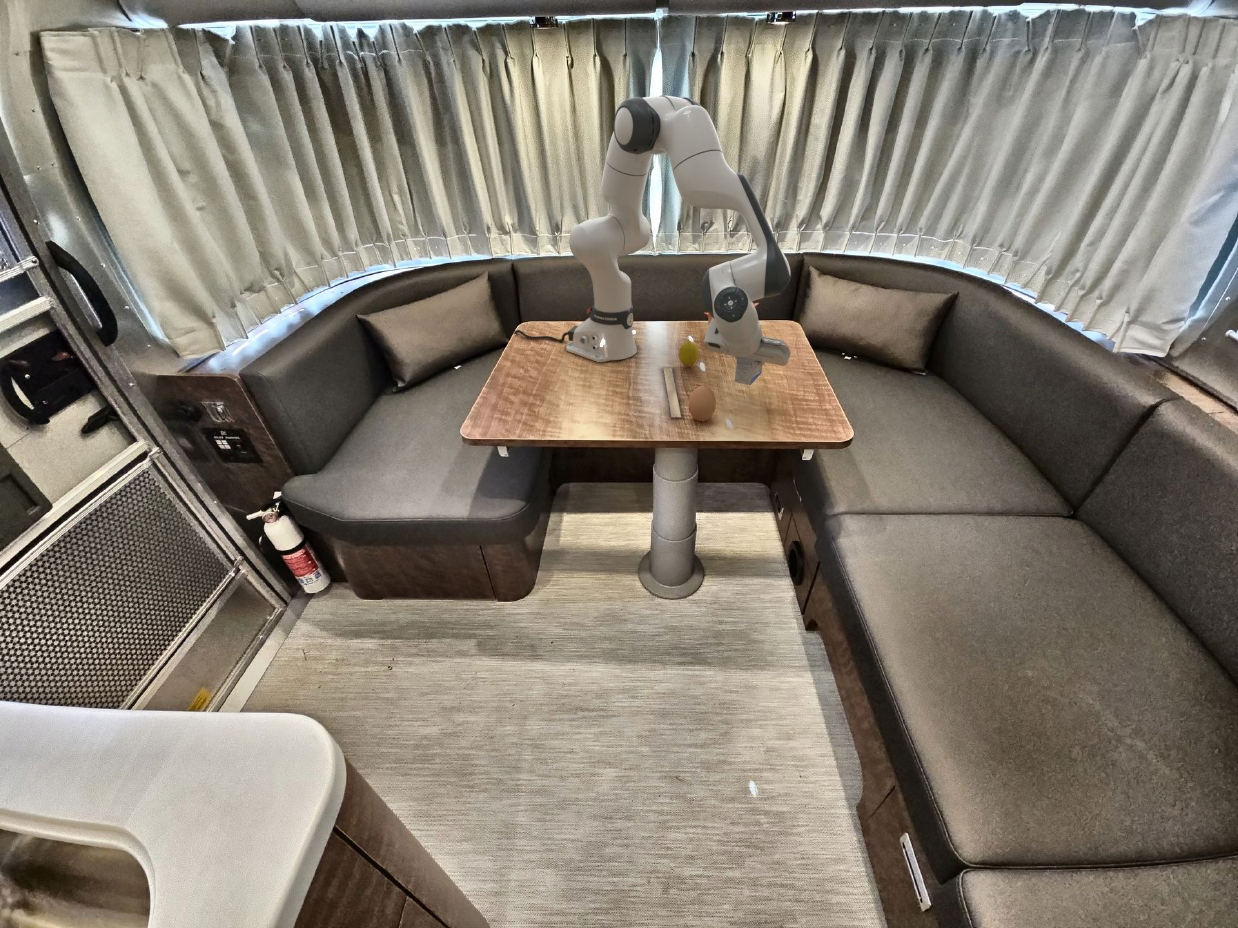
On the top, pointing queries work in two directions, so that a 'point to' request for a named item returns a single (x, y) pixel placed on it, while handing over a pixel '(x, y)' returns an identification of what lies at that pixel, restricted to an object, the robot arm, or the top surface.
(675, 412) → the strip
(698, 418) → the egg
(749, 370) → the medicine box
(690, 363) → the lemon
